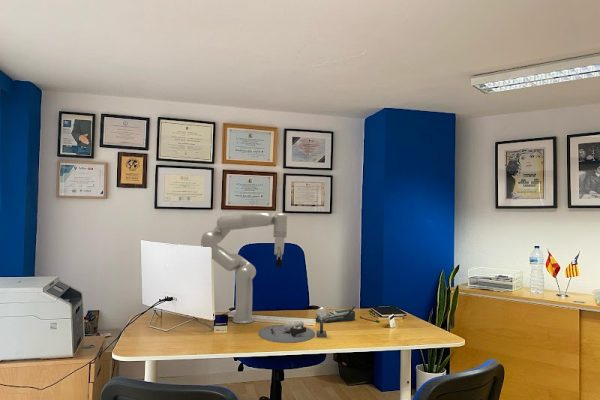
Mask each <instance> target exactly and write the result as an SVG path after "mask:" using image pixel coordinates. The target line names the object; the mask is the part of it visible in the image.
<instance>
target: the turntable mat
mask: <svg viewBox="0 0 600 400" xmlns="http://www.w3.org/2000/svg"><path fill="white" fill-rule="evenodd" d="M284 325H285V324H275V325H270V326H269V325H268V326H266V327H263V328H261V329H260V330H258V333H257V334H258V336H259V337H260V338H261V339H264V340H266V341H269V342H273V343H274V342H275V343H282V344H294V343H295V344H296V343H303V342H306V341H307V342H308V341H310V340H312V339H314V338H315V336H316V331H315V330H313V329H311V328H310V327H307V326H305V327H306V330H307V331H306V332H304V333H301V334H298V335H296V337H293V336H292V335H291V332H287V331H285V330H284ZM271 328H272V329H273V331H274V333H275V334H272V332H271V330H270V329H271ZM276 328H279V329H280V330H283V331H285V332H283V331H280V330H279V329H276ZM275 329H276V331H275Z"/></svg>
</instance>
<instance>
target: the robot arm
mask: <svg viewBox="0 0 600 400" xmlns="http://www.w3.org/2000/svg"><path fill="white" fill-rule="evenodd" d="M268 226H273V238H274V251H273V252H274V253H273V254H274V255H275V256H276V262H275V263H276V264H275V265H276V266H275V267H277V268H282V267H283V255H284V250H285V239H286V238H287V236H288V235H287V231H288V230H287V229H288V227H287V226H288V215H287V213H281V212H280V213H279V212H278V213H277V212H276V213H273V212H260V213H251V214H248V213H242V214H241V213H239V214H232V215H222V216H220V217H219V218H217V220H216V226H215V227H214V229H211V230H208V231H206V232H204V233H203V234H202V236H201V239H200V245H201V247H202V246H203V247H211V248H212V258H211V260H213V261H214V262H216V263H217V264H218V265H220V266H221V267H222V268H223V269H225V270H226V271H227V272H233V271H234V272H235V275H234V277H235V312H233V313H232V312H228V313H227V317H228V318H232V322H233V323H235V324H241V325H242V324H252V323H253V322H255V317H253V289H254V288H253V279H254V278H255V276H256V274H257V270H256V266H254V265H253V264H252V263H251V262H249V261H248V260H247V259H245V258H244V257H243V256H241V254H237V253H230V252H228V251H227V250H226V249H224V248H223V247H221V246H220V245H219V244H220V243H221V242H222V241H223V240H224V239H225V238H226V237H227V235H228V234H229V233H230V232H231V231H233V230H244V229H249V228H260V227H268ZM252 317H253V318H252Z"/></svg>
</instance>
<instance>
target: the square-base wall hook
mask: <svg viewBox="0 0 600 400" xmlns="http://www.w3.org/2000/svg"><path fill="white" fill-rule="evenodd" d="M315 313H316V314H315V317H316V316H317V317H318V318H319V319H320V323H319V330H316V331H315V336H316V338H318V339H319V338H324V339H325V338H327V335H328V334H327V330H324V323H323V320H324V319H326V318H327V316H328V313H329V312H328V310H327V309H326V308H325V307H318V308H317V310H316V312H315Z"/></svg>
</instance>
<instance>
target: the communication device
mask: <svg viewBox="0 0 600 400" xmlns="http://www.w3.org/2000/svg"><path fill="white" fill-rule="evenodd" d="M355 308H356V306H355V305H354V306H353V307H352V309H350V308H348V309H345V308H344V309H337V310H331V311H330V310H329V312H328V316H327V318H326V319H324V320H323V324H325V323H326V324H327V323H332V322H337V321H340V322H349V321H354V320H355V317H356V311H354V309H355ZM315 321H316V322H317V323H319V324H320V319H319V318H318V317H317V316H316V315H315Z"/></svg>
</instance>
